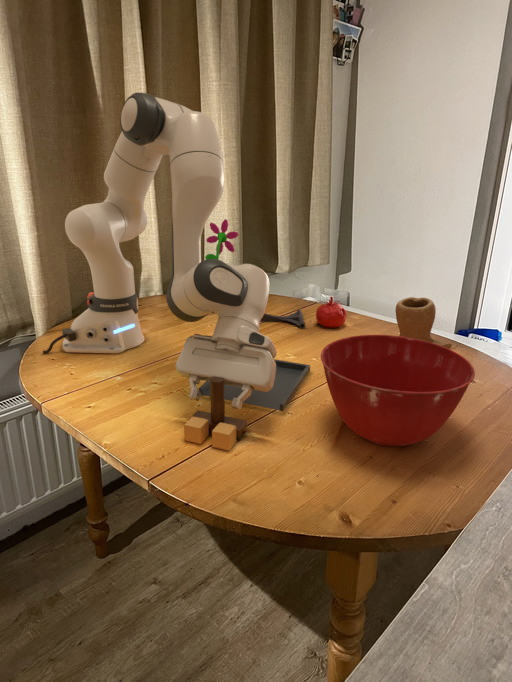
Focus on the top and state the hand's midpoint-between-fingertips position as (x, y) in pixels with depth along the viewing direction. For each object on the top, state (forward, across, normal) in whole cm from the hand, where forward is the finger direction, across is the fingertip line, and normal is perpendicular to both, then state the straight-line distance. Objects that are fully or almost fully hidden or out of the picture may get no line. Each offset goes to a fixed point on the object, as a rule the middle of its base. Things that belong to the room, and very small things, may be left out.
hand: (214, 403), depth 96 cm
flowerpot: (-48, -35, +58) cm, 83 cm away
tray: (-12, 0, +22) cm, 25 cm away
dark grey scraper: (-45, -10, +54) cm, 71 cm away
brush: (+4, 0, +6) cm, 7 cm away
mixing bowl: (-6, +31, +16) cm, 36 cm away
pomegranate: (-46, +6, +56) cm, 73 cm away
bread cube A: (+7, +3, +3) cm, 8 cm away
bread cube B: (+6, -3, +3) cm, 8 cm away
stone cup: (-38, +34, +48) cm, 70 cm away
